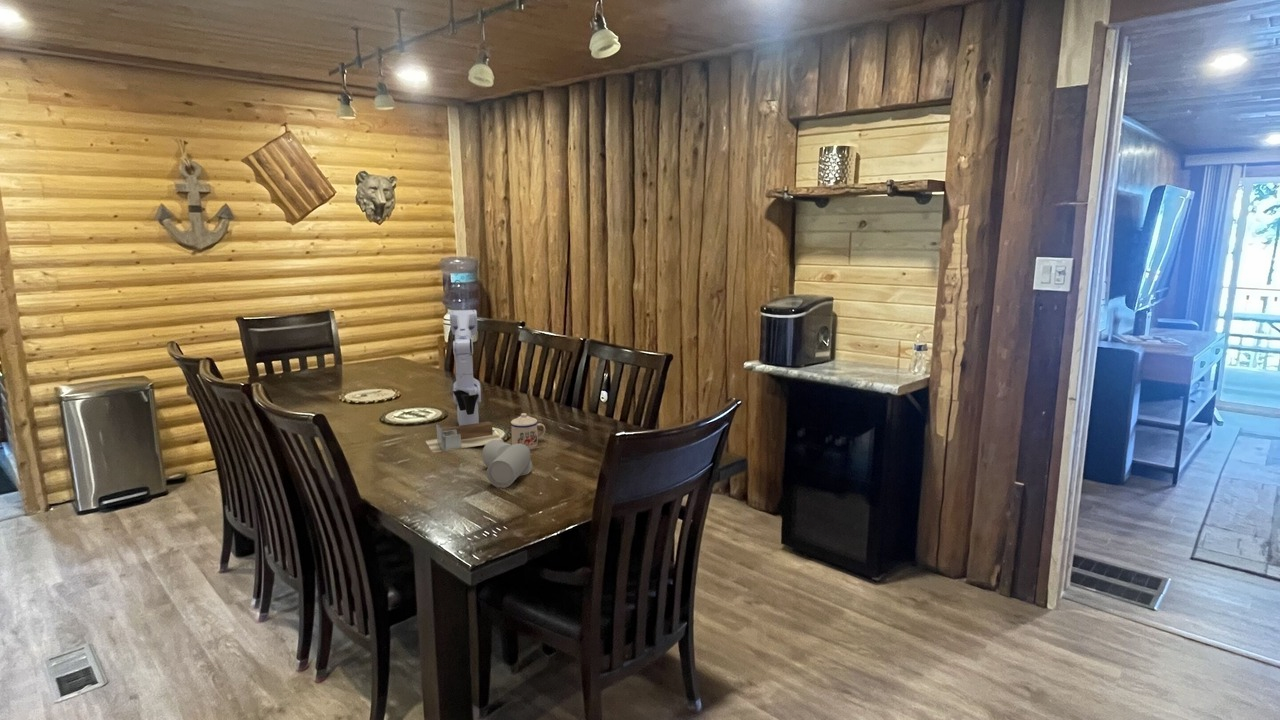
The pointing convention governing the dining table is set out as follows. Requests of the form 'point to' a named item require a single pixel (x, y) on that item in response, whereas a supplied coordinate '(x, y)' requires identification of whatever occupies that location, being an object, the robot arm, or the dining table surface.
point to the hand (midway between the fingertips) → (466, 412)
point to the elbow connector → (506, 462)
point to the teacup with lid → (525, 431)
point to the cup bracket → (448, 439)
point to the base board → (465, 442)
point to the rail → (472, 430)
